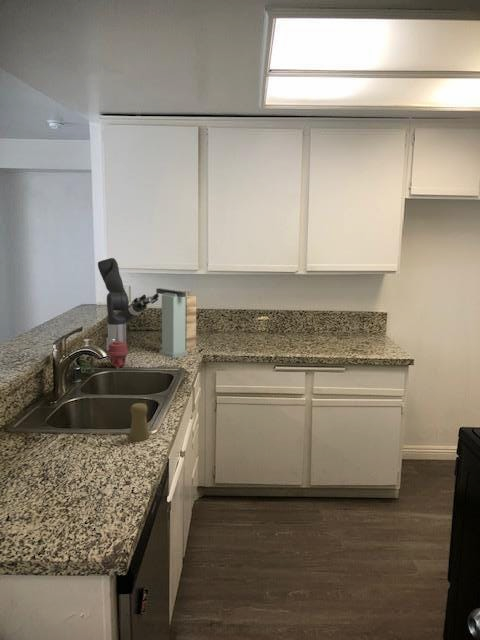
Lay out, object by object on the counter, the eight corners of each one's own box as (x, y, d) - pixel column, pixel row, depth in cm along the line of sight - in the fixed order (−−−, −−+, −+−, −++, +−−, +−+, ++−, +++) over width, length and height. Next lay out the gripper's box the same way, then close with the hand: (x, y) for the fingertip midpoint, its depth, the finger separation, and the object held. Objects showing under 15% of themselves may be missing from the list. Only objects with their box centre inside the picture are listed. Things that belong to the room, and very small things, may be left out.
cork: (150, 434, 155) (150, 401, 153) (147, 441, 149) (147, 407, 147) (131, 433, 154) (131, 400, 153) (127, 441, 148) (127, 407, 147)
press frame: (187, 354, 260) (188, 293, 254) (173, 357, 252) (173, 295, 247) (174, 350, 268) (174, 291, 262) (159, 353, 261) (159, 293, 255)
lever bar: (185, 296, 250) (185, 292, 249) (181, 297, 248) (182, 292, 248) (160, 292, 265) (160, 288, 264) (156, 293, 263) (156, 288, 263)
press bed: (195, 348, 275) (196, 296, 270) (186, 350, 270) (186, 297, 265) (184, 345, 281) (184, 294, 276) (175, 347, 276) (175, 295, 271)
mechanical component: (119, 370, 226) (102, 367, 230) (133, 366, 235) (117, 363, 239) (118, 345, 224) (102, 342, 228) (132, 341, 233) (116, 338, 237)
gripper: (125, 301, 277) (138, 290, 266) (145, 299, 287) (160, 288, 276) (128, 313, 275) (143, 302, 264) (149, 311, 285) (164, 300, 274)
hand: (151, 295), depth 270 cm, fingers open, 8 cm apart
